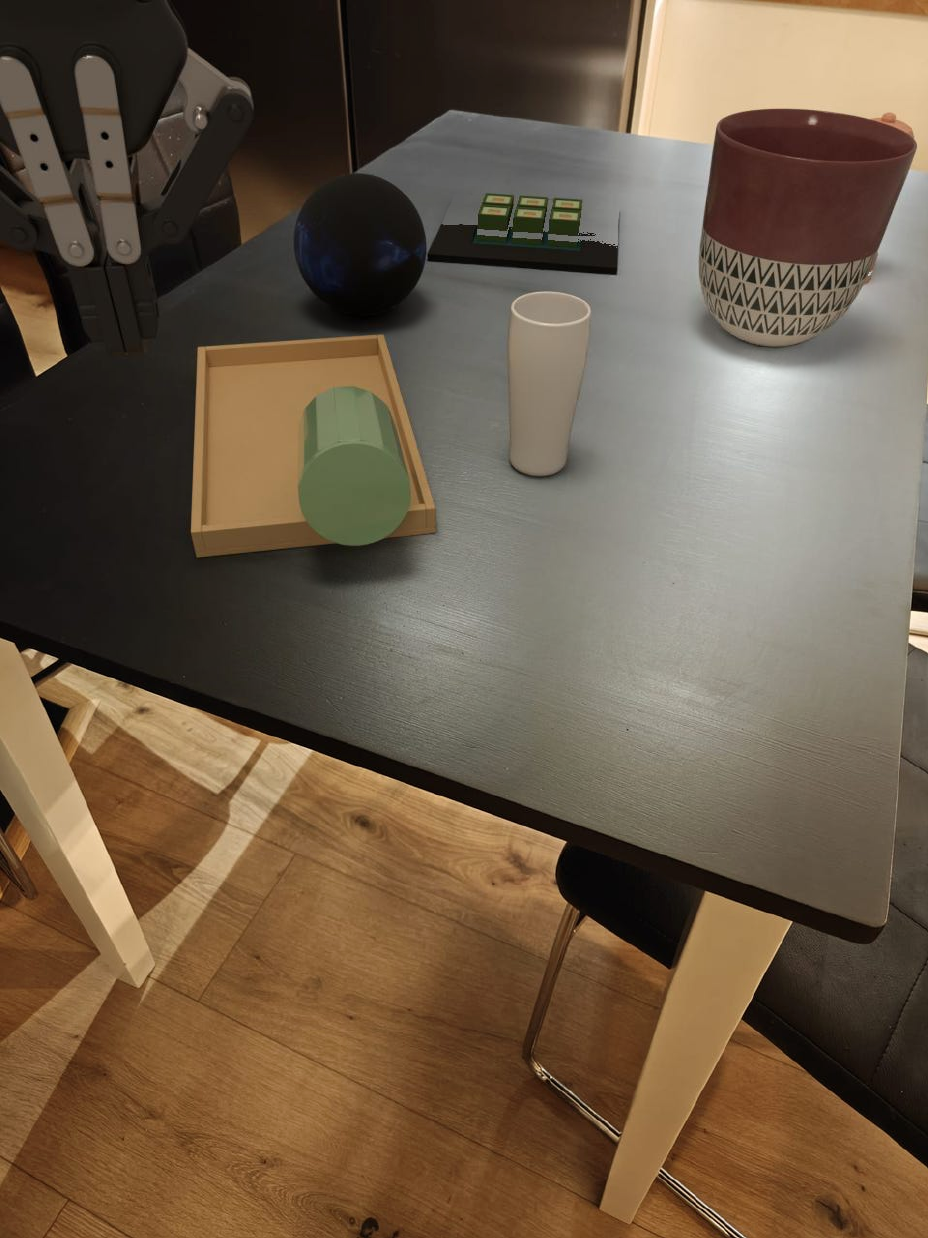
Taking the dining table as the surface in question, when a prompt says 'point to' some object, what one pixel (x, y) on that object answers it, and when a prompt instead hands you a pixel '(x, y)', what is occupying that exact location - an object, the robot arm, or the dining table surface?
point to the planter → (795, 218)
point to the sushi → (523, 252)
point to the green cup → (351, 467)
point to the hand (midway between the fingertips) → (129, 345)
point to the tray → (280, 439)
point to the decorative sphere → (360, 244)
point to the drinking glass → (545, 377)
